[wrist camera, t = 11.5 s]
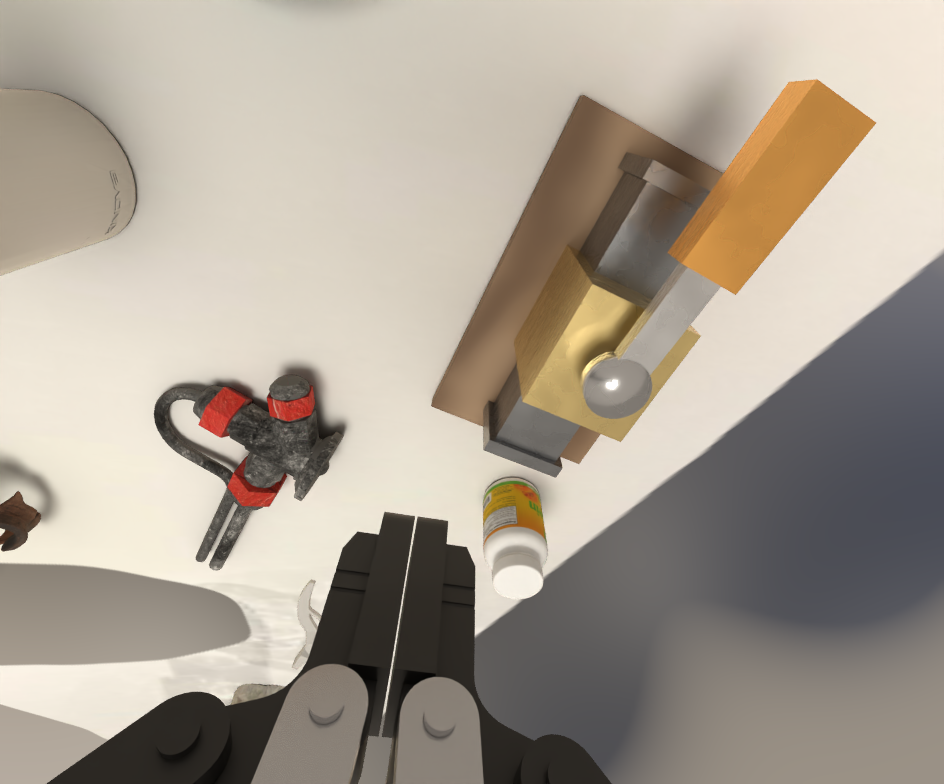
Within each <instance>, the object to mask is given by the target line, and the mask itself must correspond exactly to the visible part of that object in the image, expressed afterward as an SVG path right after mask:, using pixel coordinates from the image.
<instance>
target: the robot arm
mask: <svg viewBox="0 0 944 784" xmlns="http://www.w3.org/2000/svg"><path fill="white" fill-rule="evenodd" d="M135 202H136V193H135V183H134V179H133V174H132V170H131V168H130V166H129V163H128V161H127V158H126V156H125V154H124V152H123V151H122V149H121V148H120V146H119V144H118V143H117V141H116V139H115V138H114V137H113V136H112V135H111V133H110V132H109V131H108V130H107V129H106V127H105V126H104V125H103V124H102V123H101V122H100V121H99V120H97V119H96V118H95V117H94V116H93V115H92V114H91V113H90V112H88V111H87V110H85V109H84V108H82V107H81V106H79V105H78V104H76V103H75V102H73V101H71V100H69V99H66V98H64V97H62V96H60V95H57V94H54V93H49V92H45V91H41V90H22V89H1V88H0V276H1V275H4V274H7V273H10V272H13V271H15V270H18V269H21V268H24V267H27V266H30V265H33V264H36V263H39V262H42V261H45V260H48V259H51V258H54V257H56V256H59V255H62V254H65V253H69V252H71V251H74V250H77V249H80V248H83V247H86V246H89V245H92V244H95V243H98V242H100V241H103V240H106V239H109V238H111V237H113V236H115V235H116V234H118V233H120V232H121V231H122V230H123V229H124V228H125V227H126V226H127V224H128V222H129V220H130V219H131V217H132V215H133V211H134V207H135ZM414 520H415V516H410V515H403V514H396V513H389V512H385V513H384V516H383V520H382V524H381V529H380V533H379V535H377V534H370V533H363V532H357V533H356V534H355V535H354V536H353V537H352V538H351V540H350V541H349V542H348V543H347V544H346V545H345V546H344V547H343V549H342V552H341V556H340V559H339V562H338V565H337V568H336V573H335V575H334V578H333V581H332V584H331V588H330V591H329V594H328V597H327V600H326V603H325V606H324V610H323V613H322V616H321V619H320V622H319V626H318V629H317V632H316V635H315V638H314V641H313V645H312V648H311V651H310V654H309V657H308V659H307V662H306V664H305V666H304V667H303V669H302V670H301V672H300V673H299V674H298V676H297V677H296V678H295V679H294V680H293V681H292V682H291V683H289V684H288V685H287V686H286V687H284V688H283V689H281V690H279V691H278V692H276V693H274V694H271V695H269V696H266V697H263V698H259V699H255V700H250V701H246V702H242V703H237V704H233V705H228V706H225V705H224V703H223V702H222V701H221V700H220V699H219V698H217V697H216V696H214V695H211V694H209V693H204V692H189V693H184V694H180V695H177V696H175V697H172V698H170V699H168V700H166V701H165V702H163V703H161V704H160V705H158V706H157V707H155V708H154V709H152V710H151V711H150V712H148V713H147V714H145V715H144V716H142V717H141V718H140V719H138V720H137V721H135V722H134V723H132V724H131V725H130V726H128V727H127V728H125V729H124V730H122V731H121V732H120V733H118V734H117V735H115V736H114V737H112V738H111V739H110V740H108V741H107V742H105V743H104V744H103V745H101V746H100V747H98V748H97V749H96V750H94V751H92V752H91V753H90V754H88V755H87V756H85V757H84V758H82V759H81V760H80V761H78V762H77V763H75V764H74V765H73V766H71V767H70V768H68V769H67V770H65V771H64V772H62V773H61V774H60V775H58V776H57V777H55V778H54V779H53V780H51V781H50V782H48V783H47V784H358V782H359V779H360V777H361V773H362V768H363V762H364V757H365V751H366V746H367V740H368V735H369V736H379V730H380V725H381V719H382V714H383V708H384V703H385V697H386V691H387V686H388V680H389V675H390V669H391V663H392V657H393V650H394V644H395V638H396V632H397V626H398V619H399V613H400V607H401V601H402V594H403V588H404V582H405V576H406V570H407V563H408V557H409V551H410V545H411V539H412V532H413V526H414ZM447 529H448V521H444V520H438V519H431V518H424V517H418V518H417V523H416V529H415V534H414V540H413V546H412V551H411V557H410V563H409V568H408V574H407V580H406V587H405V593H404V599H403V606H402V612H401V618H400V625H399V631H398V638H397V644H396V650H395V657H394V663H393V669H392V676H391V682H390V688H389V695H388V701H387V707H386V714H385V720H384V727H383V733H382V737H389V738H392V745H391V752H390V759H389V766H388V772H387V777H386V781H385V784H611V783H610V781H609V780H608V779H607V777H606V776H605V775H604V773H603V772H602V771H601V769H600V768H599V767H598V766H597V764H596V763H595V762H594V760H593V759H592V758H591V756H590V755H589V754H588V753H587V752H586V751H585V750H584V749H583V748H582V747H581V746H580V745H579V744H578V743H576V742H575V741H573V740H571V739H569V738H567V737H565V736H561V735H553V734H551V735H545V736H542V737H540V738H538V739H537V740H535V741H533V740H531V739H529V738H527V737H525V736H523V735H522V734H520V733H518V732H516V731H514V730H512V729H510V728H508V727H506V726H504V725H503V724H501V723H499V722H498V721H497V720H496V719H494V718H493V717H492V716H491V715H490V714H489V713H488V711H487V710H486V709H485V707H484V706H483V705H482V703H481V701H480V699H479V697H478V694H477V691H476V687H475V682H474V635H475V610H474V607H475V565H474V563H473V560H472V558H471V556H470V554H469V551H468V549H467V547H462V546H455V545H448V544H446V542H447Z"/></svg>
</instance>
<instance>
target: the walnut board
mask: <svg viewBox="0 0 944 784" xmlns="http://www.w3.org/2000/svg"><path fill="white" fill-rule="evenodd" d="M626 152H629V153H632V154H636V155H639V156H643V157H646V158H650V159H653V160H655V161H657V162H659V163H661V164H662V165H664V166H666V167H668V168H670V169H672V170H673V171H675V172H677V173H679V174H681V175H682V176H684V177H686V178H688V179H690V180H691V181H693V182H695V183H697V184H699V185H701V186H702V187H704V188H706V189H708V190H710V191H712V189H713V188H714V186H715V185H716V184H717V182H718V181H719V179H720V178H721V177H722V175H723V173H721V172H719V171H717V170H716V169H714V168H712V167H710V166H708V165H707V164H705V163H703V162H701V161H700V160H698V159H696V158H694V157H693V156H691V155H689V154H687V153H685V152H684V151H682V150H680V149H678V148H677V147H675V146H673V145H671V144H669V143H668V142H666V141H664V140H662V139H661V138H659V137H657V136H655V135H654V134H652V133H650V132H648V131H646V130H645V129H643V128H641V127H639V126H638V125H636V124H634V123H632V122H630V121H629V120H627V119H625V118H623V117H622V116H620V115H618V114H616V113H614V112H613V111H611V110H609V109H607V108H606V107H604V106H602V105H600V104H599V103H597V102H595V101H593V100H591V99H590V98H588V97H586V96H584V95H582V96H580V97H579V99H578V101H577V103H576V106H575V108H574V110H573V112H572V114H571V116H570V118H569V120H568V122H567V124H566V126H565V128H564V130H563V132H562V134H561V136H560V138H559V140H558V142H557V145H556V147H555V149H554V151H553V153H552V155H551V157H550V159H549V161H548V163H547V165H546V167H545V169H544V171H543V173H542V175H541V177H540V179H539V181H538V183H537V186H536V188H535V190H534V192H533V194H532V196H531V198H530V200H529V202H528V204H527V206H526V208H525V210H524V212H523V214H522V216H521V218H520V220H519V222H518V224H517V227H516V229H515V231H514V233H513V235H512V237H511V239H510V241H509V243H508V245H507V247H506V249H505V251H504V253H503V255H502V257H501V259H500V261H499V263H498V265H497V268H496V270H495V272H494V274H493V276H492V278H491V280H490V282H489V284H488V286H487V288H486V290H485V292H484V294H483V296H482V298H481V300H480V302H479V304H478V307H477V309H476V311H475V313H474V315H473V317H472V319H471V321H470V323H469V325H468V327H467V329H466V331H465V333H464V335H463V337H462V339H461V341H460V343H459V345H458V348H457V350H456V352H455V354H454V356H453V358H452V360H451V362H450V364H449V366H448V368H447V370H446V372H445V374H444V376H443V378H442V380H441V382H440V384H439V386H438V389H437V391H436V393H435V395H434V397H433V399H432V405H431V406H432V407H435V408H437V409H440V410H442V411H445V412H447V413H450V414H452V415H455V416H458V417H460V418H463V419H465V420H468V421H470V422H473V423H475V424H478V425H481V426H483V409H484V407H485V406H486V404H487V402H488V400H489V401H491V402H495V400H496V398H497V396H498V394H499V393H500V391H501V389H502V387H503V386H504V384H505V382H506V380H507V379H508V377H509V375H510V373H511V371H512V370H513V368H514V366H515V364H516V363H517V361H516V354H515V347H514V340H515V338H516V337H517V335H518V333H519V331H520V329H521V328H522V326H523V324H524V322H525V320H526V318H527V317H528V315H529V313H530V311H531V309H532V307H533V306H534V304H535V302H536V300H537V298H538V297H539V295H540V293H541V291H542V289H543V287H544V286H545V284H546V282H547V280H548V278H549V276H550V275H551V273H552V271H553V269H554V267H555V266H556V264H557V262H558V260H559V258H560V256H561V255H562V253H563V251H564V249H565V247H566V245H569V246H571V247H573V248H575V249H577V250H579V251H580V249H581V247H582V246H583V244H584V242H585V240H586V239H587V237H588V235H589V233H590V232H591V230H592V228H593V226H594V224H595V223H596V221H597V219H598V217H599V216H600V214H601V212H602V210H603V209H604V207H605V205H606V203H607V201H608V200H609V198H610V196H611V194H612V193H613V191H614V189H615V187H616V186H617V184H618V182H619V180H620V178H621V177H622V175H623V173H624V171H623V170H621V169H619V168H618V167H619V165H620V163H621V161H622V159H623V158H624V156H625V154H626ZM599 435H600V433H598V432H595V431H593V430H590V429H588V428H586V427H583V426H580V427H579V429H578V430H577V432H576V433H575V434H574V436H573V437H572V439H571V440H570V442H569V443H568V445H567V446H566V447H565V449H564V450H563V452H562V453H561V455H560V457H562V458H565V459H568V460H570V461H573V462H575V463H578V464H579V463H580V462H581V460H582V459H583V458H584V456H585V455H586V453H587V452H588V451H589V449H590V448H591V447H592V445H593V444H594V442H595V441H596V440H597V438H598V437H599Z"/></svg>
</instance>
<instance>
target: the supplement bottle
mask: <svg viewBox="0 0 944 784" xmlns="http://www.w3.org/2000/svg"><path fill="white" fill-rule="evenodd" d="M483 550H484V558H485V561H486V564H487V565H488V567H489V568H490V569H491V570H492V579H493V586H494V589H495V590H496V591H497V592H498V593H499V594H500V595H502V596H504V597H506V598H510V599H525V598H528V597H531V596H533V595H535V594H536V593H537V592H538V591H539V590H540V589H541V587H542V585H543V573H542V567H543V566H544V565H545V563H546V560H547V557H548V548H547V541H546V534H545V528H544V521H543V514H542V508H541V501H540V496H539V493H538V491H537V489H536V488H535V487H534V486H533V485H532V484H531V483H530V482H528V481H526V480H523V479H520V478H505V479H501V480H499V481H497V482H495V483H493V484H492V485H491V486H490V487H489V488H488V489H487V490H486V492H485V495H484V499H483Z"/></svg>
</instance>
